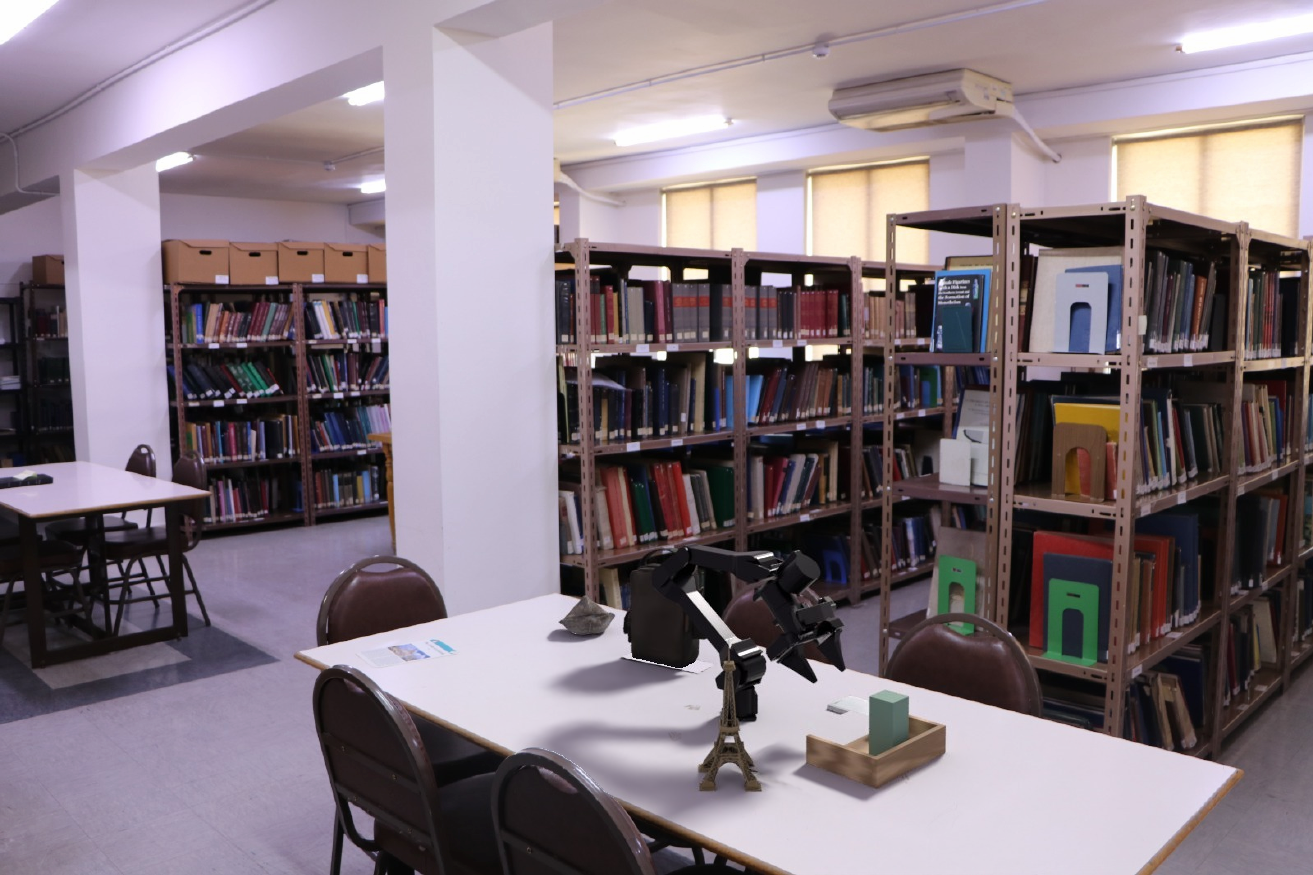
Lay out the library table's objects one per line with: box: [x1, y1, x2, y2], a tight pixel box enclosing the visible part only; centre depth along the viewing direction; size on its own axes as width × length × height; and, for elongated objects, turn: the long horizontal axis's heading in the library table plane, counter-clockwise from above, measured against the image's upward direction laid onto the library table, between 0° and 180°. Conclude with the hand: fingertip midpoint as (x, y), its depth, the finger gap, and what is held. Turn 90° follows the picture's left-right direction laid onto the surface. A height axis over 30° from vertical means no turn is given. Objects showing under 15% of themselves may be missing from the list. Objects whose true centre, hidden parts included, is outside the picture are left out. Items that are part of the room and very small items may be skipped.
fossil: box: [558, 595, 616, 635], centre depth 269 cm, size 15×14×10 cm
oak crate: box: [805, 714, 947, 789], centre depth 181 cm, size 15×22×6 cm
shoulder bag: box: [622, 546, 708, 668], centre depth 242 cm, size 23×9×28 cm, turn 57°
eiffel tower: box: [698, 650, 763, 792], centre depth 174 cm, size 11×11×25 cm
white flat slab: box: [826, 695, 869, 717], centre depth 207 cm, size 2×8×12 cm
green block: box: [868, 689, 910, 756], centre depth 179 cm, size 5×5×12 cm
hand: (830, 676), depth 189 cm, fingers open, 9 cm apart
